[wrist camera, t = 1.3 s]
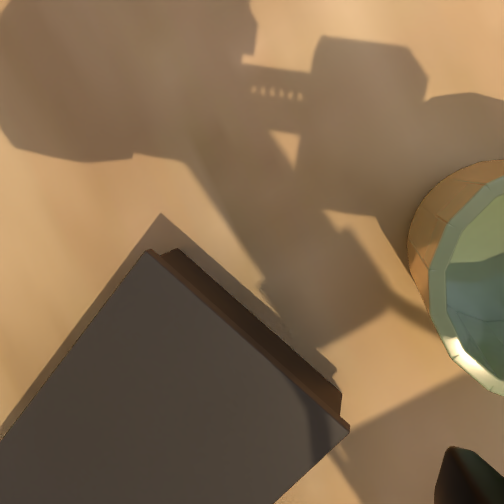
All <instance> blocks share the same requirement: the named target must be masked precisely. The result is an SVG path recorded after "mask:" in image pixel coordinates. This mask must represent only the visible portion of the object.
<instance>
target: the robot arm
mask: <svg viewBox="0 0 504 504" xmlns="http://www.w3.org/2000/svg"><path fill="white" fill-rule="evenodd" d="M434 504H504V477H503V476H502V475H500V474H499V473H498V472H497V471H496V470H495V469H494V468H492V467H491V466H490V465H489V464H488V463H487V462H486V461H484V460H483V459H482V458H481V457H480V456H479V455H478V454H476V453H475V452H473V451H471V450H467V449H463V448H459V447H455V446H451V447H449V448H448V449H447V450H446V452H445V455H444V458H443V462H442V465H441V469H440V472H439V476H438V479H437V483H436V486H435V493H434Z"/></svg>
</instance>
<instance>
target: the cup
mask: <svg viewBox="0 0 504 504" xmlns="http://www.w3.org/2000/svg"><path fill="white" fill-rule="evenodd" d="M407 253H408V261H409V269H410V272H411V274H412V277H413V279H414V281H415V284H416V286H417V288H418V290H419V293H420V295H421V297H422V300H423V302H424V304H425V307H426V309H427V311H428V313H429V316H430V318H431V320H432V322H433V324H434V326H435V328H436V330H437V332H438V334H439V336H440V338H441V340H442V342H443V344H444V346H445V348H446V350H447V352H448V354H449V356H450V357H451V358H452V360H453V361H454V362H455V363H456V364H457V365H459V366H460V367H461V368H462V369H463V370H464V371H466V372H467V373H468V374H469V375H470V376H471V377H473V378H474V379H475V380H476V381H477V382H478V383H479V384H481V385H482V386H483V387H484V388H485V389H486V390H489V391H490V392H492V393H495V394H498V395H500V396H503V397H504V159H502V160H492V161H481V162H478V163H476V164H473V165H470V166H467V167H465V168H463V169H460V170H458V171H456V172H454V173H453V174H451V175H449V176H448V177H446V178H445V179H444V180H442V181H441V182H439V183H438V184H437V185H436V186H435V187H434V188H433V189H432V190H431V191H430V192H429V193H428V194H427V196H426V197H425V198H424V199H423V201H422V202H421V204H420V205H419V207H418V208H417V210H416V213H415V215H414V217H413V219H412V222H411V225H410V229H409V234H408V240H407Z"/></svg>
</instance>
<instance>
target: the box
mask: <svg viewBox="0 0 504 504" xmlns="http://www.w3.org/2000/svg"><path fill="white" fill-rule="evenodd" d="M341 400H342V393H341V392H340V391H339V390H337V389H336V388H335V387H334V386H333V385H332V384H331V383H330V382H328V381H327V380H326V379H325V378H324V377H323V376H322V375H320V374H319V373H318V372H317V371H316V370H315V369H314V368H313V367H311V366H310V365H309V364H308V363H307V362H306V361H305V360H304V359H302V358H301V357H300V356H299V355H298V354H297V353H296V352H294V351H293V350H292V349H291V348H290V347H289V346H288V345H287V344H285V343H284V342H283V341H282V340H281V339H280V338H279V337H278V336H276V335H275V334H274V333H273V332H272V331H271V330H270V329H269V328H267V327H266V326H265V325H264V324H263V323H262V322H261V321H259V320H258V319H257V318H256V317H255V316H254V315H253V314H252V313H250V312H249V311H248V310H247V309H246V308H245V307H244V306H243V305H241V304H240V303H239V302H238V301H237V300H236V299H235V298H233V297H232V296H231V295H230V294H229V293H228V292H227V291H226V290H224V289H223V288H222V287H221V286H220V285H219V284H218V283H217V282H215V281H214V280H213V279H212V278H211V277H210V276H209V275H207V274H206V273H205V272H204V271H203V270H202V269H201V268H200V267H198V266H197V265H196V264H195V263H194V262H193V261H192V260H191V259H189V258H188V257H187V256H186V255H185V254H184V253H183V252H181V251H180V250H179V249H178V248H177V249H174V250H172V251H170V252H167V253H165V254H163V255H161V256H159V255H158V254H157V253H156V252H155V251H154V250H152V249H149V250H146V251H145V252H144V253H143V254H142V256H141V257H140V258H139V260H138V261H137V262H136V264H135V265H134V266H133V267H132V269H131V270H130V271H129V273H128V274H127V275H126V277H125V278H124V279H123V281H122V282H121V283H120V285H119V286H118V287H117V289H116V290H115V291H114V293H113V294H112V295H111V296H110V298H109V299H108V300H107V302H106V303H105V304H104V306H103V307H102V308H101V310H100V311H99V312H98V314H97V315H96V316H95V318H94V319H93V320H92V321H91V323H90V324H89V325H88V327H87V328H86V329H85V331H84V332H83V333H82V335H81V336H80V337H79V339H78V340H77V341H76V343H75V344H74V345H73V347H72V348H71V349H70V350H69V352H68V353H67V354H66V356H65V357H64V358H63V360H62V361H61V362H60V364H59V365H58V366H57V368H56V369H55V370H54V372H53V373H52V374H51V376H50V377H49V378H48V379H47V381H46V382H45V383H44V385H43V386H42V387H41V389H40V390H39V391H38V393H37V394H36V395H35V397H34V398H33V399H32V401H31V402H30V403H29V405H28V406H27V407H26V408H25V410H24V411H23V412H22V414H21V415H20V416H19V418H18V419H17V420H16V422H15V423H14V424H13V426H12V427H11V428H10V430H9V431H8V432H7V433H6V435H5V436H4V437H3V439H2V440H1V441H0V504H274V503H275V502H276V501H277V500H278V499H279V498H280V497H281V496H282V495H283V494H284V493H285V492H287V491H288V490H289V489H290V488H291V487H292V486H293V485H294V484H295V483H296V482H297V481H298V480H299V479H301V478H302V477H303V476H304V475H305V474H306V473H307V472H308V471H309V470H310V469H311V468H312V467H313V466H315V465H316V464H317V463H318V462H319V461H320V460H321V459H322V458H323V457H324V456H325V455H326V454H327V453H329V452H330V451H331V450H332V449H333V448H334V447H335V446H336V445H337V444H338V443H339V442H340V441H341V440H343V439H344V438H345V437H346V436H347V435H348V434H349V432H350V425H349V424H348V423H347V422H346V421H345V420H344V419H343V418H341V417H340V410H341Z"/></svg>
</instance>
